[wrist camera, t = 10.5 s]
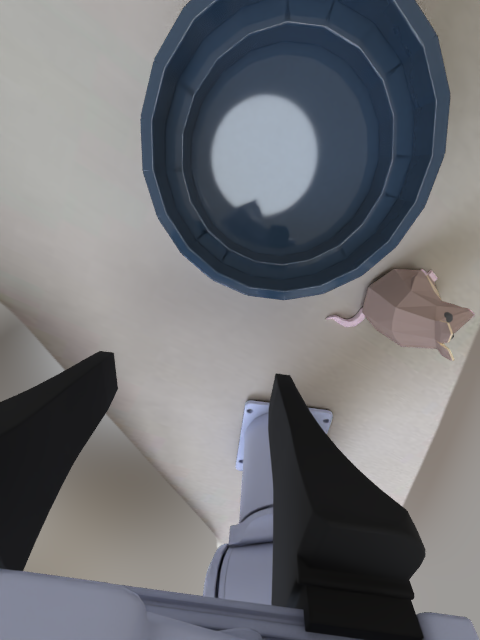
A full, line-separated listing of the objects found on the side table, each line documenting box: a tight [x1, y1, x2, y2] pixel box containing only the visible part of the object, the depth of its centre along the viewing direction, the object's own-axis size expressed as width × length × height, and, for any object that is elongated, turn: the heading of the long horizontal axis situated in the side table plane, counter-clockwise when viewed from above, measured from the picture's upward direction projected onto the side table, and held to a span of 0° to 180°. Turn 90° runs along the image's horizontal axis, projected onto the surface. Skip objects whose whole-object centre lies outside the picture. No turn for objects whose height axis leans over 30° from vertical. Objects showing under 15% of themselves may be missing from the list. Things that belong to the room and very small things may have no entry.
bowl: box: [141, 0, 450, 300], centre depth 16 cm, size 14×14×4 cm
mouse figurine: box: [325, 269, 475, 361], centre depth 19 cm, size 5×8×7 cm, turn 110°
